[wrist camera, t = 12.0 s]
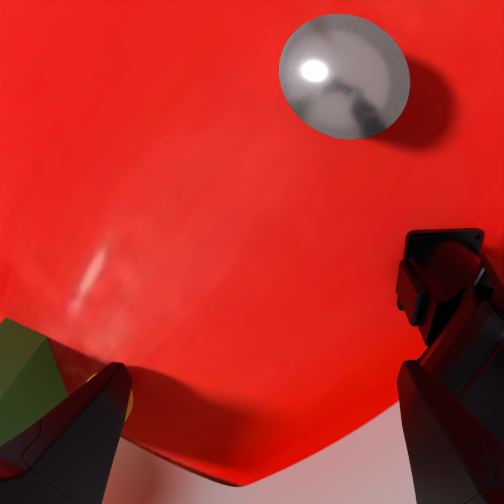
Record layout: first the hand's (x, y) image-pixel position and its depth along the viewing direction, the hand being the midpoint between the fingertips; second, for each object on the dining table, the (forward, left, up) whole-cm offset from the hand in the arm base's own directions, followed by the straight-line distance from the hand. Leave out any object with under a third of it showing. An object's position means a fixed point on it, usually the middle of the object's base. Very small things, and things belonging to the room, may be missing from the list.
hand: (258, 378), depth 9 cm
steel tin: (-4, -9, -13) cm, 16 cm away
